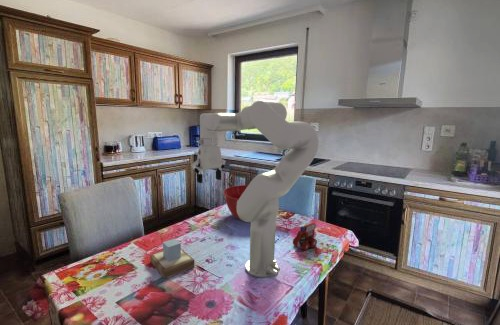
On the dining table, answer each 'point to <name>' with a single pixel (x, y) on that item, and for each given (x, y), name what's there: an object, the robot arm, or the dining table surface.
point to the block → (171, 250)
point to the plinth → (171, 264)
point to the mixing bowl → (234, 197)
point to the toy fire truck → (305, 237)
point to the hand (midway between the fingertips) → (209, 181)
